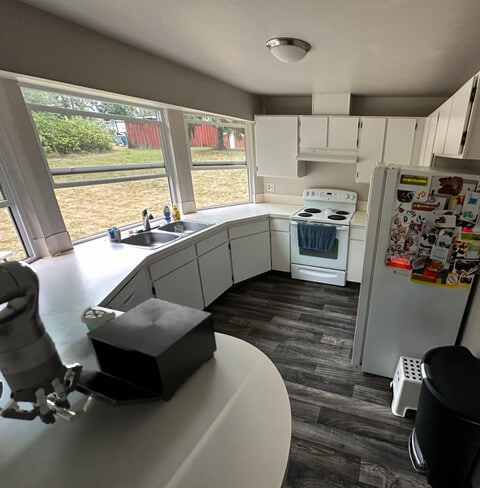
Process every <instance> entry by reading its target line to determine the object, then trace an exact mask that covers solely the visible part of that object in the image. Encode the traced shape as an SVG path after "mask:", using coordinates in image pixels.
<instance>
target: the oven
mask: <svg viewBox="0 0 480 488" xmlns="http://www.w3.org/2000/svg"><path fill="white" fill-rule="evenodd" d="M214 326H215V325H214V318H213V313H212V312H208V311H204V310H200V309H197V308H193V307H188V306H185V305H182V304H177V303H174V302H169V301H165V300H161V299H159V298H154V297H151V298H148V299H146V300H145V301H144V302H143V301H142V302H141V303H139V304H138V305H136V306H134V307H132V308H131V309H129V310H127V311H125V312H123V313H121V314H119V315H117V316H116V317H115V318H114V319H112V320H110V321H108V322H106V323H105V324H103V325H101V326H99V327H97V328H95V329H94V330H92V331H90V332H89V331H88V332H86V336H87V339H88V341H89V345H90V348H91V349H92V353H93V355H94V358H95V361H96V364H97V367H98V370H99V372H101V373H104V374H106V375H109V376H111V377H114V378H116V379H119V380H121V381H124V382H126V383H129V384H131V385H134V386H136V387H139V388H141V389H144V390H146V391H149V392H151V393H154V394H156V395H159V396H161V397H162V398H161V400H163V401H166V402H169V401H170V400H172V398H173V397H174V396H175V395H176V391H177V390H178V389H179V388H180V387H181V386H182V385H183V384H184V383H185V382H186V381H187V380H188V379H189V378H190V377H191V376H192V375H193V374H194V373H195V372H196V371H197V370H199V368H200V367H201V366H202V365H203V364H204V363H206V362H207V361H210V360H212V358H213V357H214V356H215V352H216V351H217V350H218V348H217V340H216V334H215V333H216V331H215V327H214Z"/></svg>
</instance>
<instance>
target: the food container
mask: <svg viewBox="0 0 480 488" xmlns="http://www.w3.org/2000/svg"><path fill="white" fill-rule="evenodd" d="M116 317H117V315H116V313H115V311H112V312H108V311H107V310H106V311H105V310H103V309H94V308H92V306H88V307H87V308H85V309H84V310H83V311H82V312H81V316H80V321H81V322H82V323H83V324H85V325H86V328H87V330H88V332H90V331H92V330H94V329H95V328H97V327H99V326H101V325H103V324H105V323H106V322H108V321H110V320H112V319H114V318H116Z"/></svg>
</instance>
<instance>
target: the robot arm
mask: <svg viewBox="0 0 480 488" xmlns="http://www.w3.org/2000/svg"><path fill="white" fill-rule="evenodd" d="M40 289H41V288H40V278H39V275H38V273H37V271H36V270H35V269H34V268H33V267H32V266H31V265H30V264H28V263H26V262H23V261H20V260H8V261H3V262H0V306H1V305H4V304H6V305H5V306H4V307H3V308H2V309H1V310H0V373H1V375H2V376H3V379H4V380H5V382H6V385H8V388H9V389H10V395H9V399H10V400H9V401H8V402H7V403H6V404H5V405H4V406H0V417H1V418H3V419H10V420H19V421H27V422H28V421H29V422H31V421H34V420H35V419H36V418H37V417H39V419H40V421H41V423H44V424H45V425H49V424H50V425H53V424H55V423H56V422H57V419H56V417H55V414H53V413H52V411H51V410H50V409H49V408H48V405H47V403H48V402H47V399H46V397H49V396H50V395H51V394H52V396H53V397H54V398H55V399H56V400H54V403H56V404H58V405H60V406H62V407H64V408H67V409H69V410H71V404H70V402H69V400H68V399H69V398H68V396H69V395H70V394H71V393H74V392H75V389H76V387H77V384H78V380H79V377H80V374H81V371H82V370H83V368H84V365H82V364H80V363H77V362H72V363H70V364H69V365H66V364H63V361H62V359H61V357H60V354H59V352H58V350H57V347H56V343H55V341H54V340H53V338H52V337H51V335H50V334H49V332H48V331H47V329H46V326H45V324H44V322H43V319H42V317H41V315H40ZM66 374H67V376H66V379H65V382H64V385H63V386H62V382H63V380H64V377H65V375H66ZM18 403H30V404H31V406H32V409H30V410H29V409H22V408H20V405H18Z"/></svg>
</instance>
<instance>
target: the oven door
mask: <svg viewBox="0 0 480 488" xmlns="http://www.w3.org/2000/svg"><path fill="white" fill-rule="evenodd" d="M66 376H67V374H66V375H65V377H64V380H63V382H62V386H63V385H64V382H65V379H66ZM75 391H76V392H77V393H80V394H82V395H84V396H87V397H88V399H87V401H86V402H85V403H84V405H83V407H82V409H81V410H80V411H73V410H71V409H67V408H64V407H62V406H60V405H58V404H56V403H55V402H54V400H56V399H55V398H54V397H53V396H52V394H50V395H49V396H47V397H46V399H47V402H48V403H47V405H48V408H49V409H50V410H51V411H52V413H53V415H54V416H57V417H59V418H60V419H63V420H65V421H67V422H69V423H72V422H74V421H76V420H77V419H84V418H86V417H87V416H88V415H89V412H90V411H91V409H92V408H93V407H92V406H93V405H94V403H95V401H97V402H100V403H101V404H104V405H106V406H109V407H110V408H118V407H119V408H120V407H126V406H135V405H143V404H152V403H160V402H161V400H162V399H161V398H162V397H161V396H159V395H156V394H154V393H151V392H149V391H146V390H144V389H141V388H139V387H136V386H134V385H131V384H129V383H126V382H124V381H121V380H119V379H116V378H114V377H111V376H109V375H106V374H104V373H101V372H100V370H99V371H98V370H90V369H89V370H88V369H85V370H84V369H82V371H81V374H80V377H79V380H78V384H77V387H76V389H75ZM75 391H74V392H75Z"/></svg>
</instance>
